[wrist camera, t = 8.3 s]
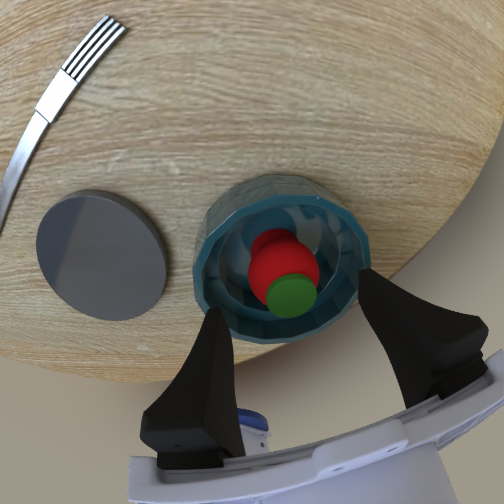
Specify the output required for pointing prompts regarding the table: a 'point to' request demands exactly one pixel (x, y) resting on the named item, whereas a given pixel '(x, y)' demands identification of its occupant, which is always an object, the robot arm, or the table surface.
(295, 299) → the strawberry
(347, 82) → the table surface
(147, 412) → the robot arm
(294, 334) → the bowl
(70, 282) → the plate
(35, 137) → the fork
